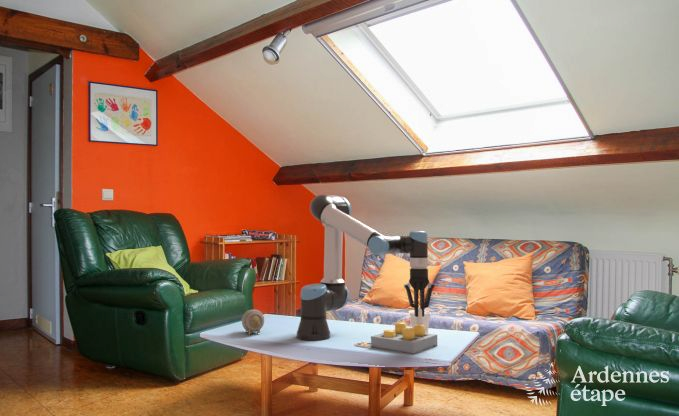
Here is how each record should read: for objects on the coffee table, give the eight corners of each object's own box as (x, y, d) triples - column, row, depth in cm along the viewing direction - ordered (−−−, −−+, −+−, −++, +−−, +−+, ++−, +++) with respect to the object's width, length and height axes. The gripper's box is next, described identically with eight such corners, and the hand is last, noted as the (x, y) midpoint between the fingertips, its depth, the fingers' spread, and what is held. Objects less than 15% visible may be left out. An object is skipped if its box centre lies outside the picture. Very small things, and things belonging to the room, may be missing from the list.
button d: (411, 337, 217) (411, 325, 218) (417, 335, 221) (416, 324, 221) (421, 339, 214) (421, 327, 215) (427, 337, 218) (427, 325, 218)
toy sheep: (246, 337, 235) (246, 312, 235) (237, 330, 250) (237, 307, 251) (268, 335, 239) (268, 311, 240) (258, 329, 255) (259, 306, 255)
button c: (392, 335, 223) (392, 323, 223) (398, 333, 227) (398, 321, 227) (402, 336, 220) (402, 324, 220) (408, 334, 224) (408, 323, 224)
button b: (400, 341, 210) (400, 328, 210) (406, 339, 214) (406, 327, 214) (410, 342, 207) (410, 330, 207) (416, 340, 211) (416, 328, 211)
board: (371, 347, 215) (371, 336, 215) (396, 339, 231) (396, 329, 231) (413, 354, 203) (413, 342, 203) (437, 345, 219) (437, 334, 219)
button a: (381, 343, 216) (381, 331, 216) (387, 341, 219) (387, 329, 220) (391, 344, 213) (391, 332, 213) (397, 342, 216) (397, 330, 217)
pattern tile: (354, 345, 218) (354, 343, 218) (362, 343, 222) (362, 341, 222) (366, 347, 214) (366, 345, 214) (374, 345, 219) (374, 343, 219)
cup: (416, 333, 243) (416, 310, 243) (435, 336, 237) (435, 312, 237) (405, 337, 235) (405, 312, 236) (424, 340, 229) (424, 315, 229)
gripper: (406, 268, 214) (406, 326, 213) (436, 268, 216) (437, 325, 215) (401, 267, 222) (402, 323, 221) (431, 267, 224) (431, 322, 222)
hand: (419, 324), depth 218 cm, fingers closed
